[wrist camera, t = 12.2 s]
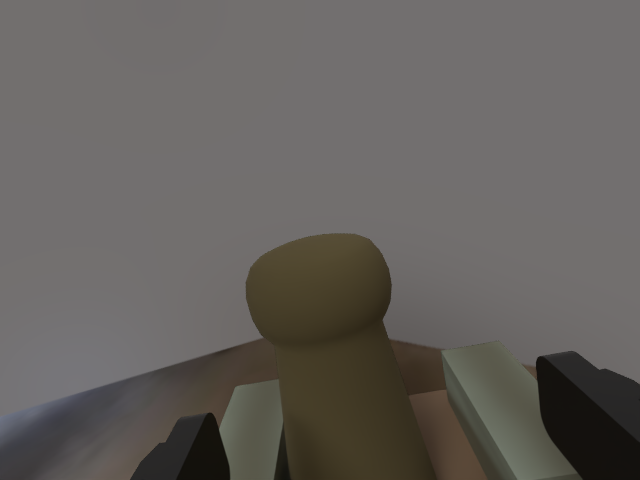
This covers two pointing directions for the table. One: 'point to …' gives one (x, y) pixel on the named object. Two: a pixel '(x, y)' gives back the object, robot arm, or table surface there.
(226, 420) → the endcap cradle
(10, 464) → the table surface
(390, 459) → the cork
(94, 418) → the table surface
